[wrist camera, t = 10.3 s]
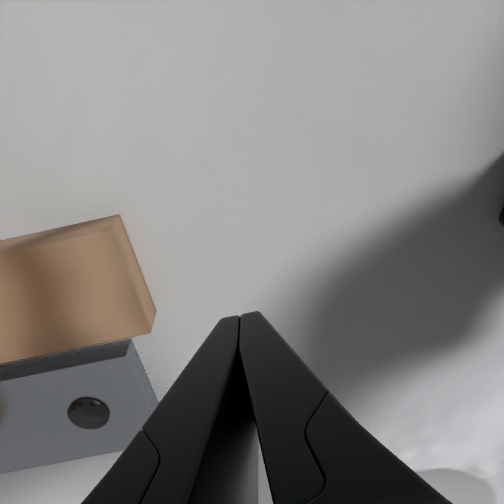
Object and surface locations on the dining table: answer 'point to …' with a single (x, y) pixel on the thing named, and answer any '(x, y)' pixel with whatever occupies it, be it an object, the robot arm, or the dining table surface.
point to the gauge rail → (70, 290)
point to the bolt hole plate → (72, 405)
